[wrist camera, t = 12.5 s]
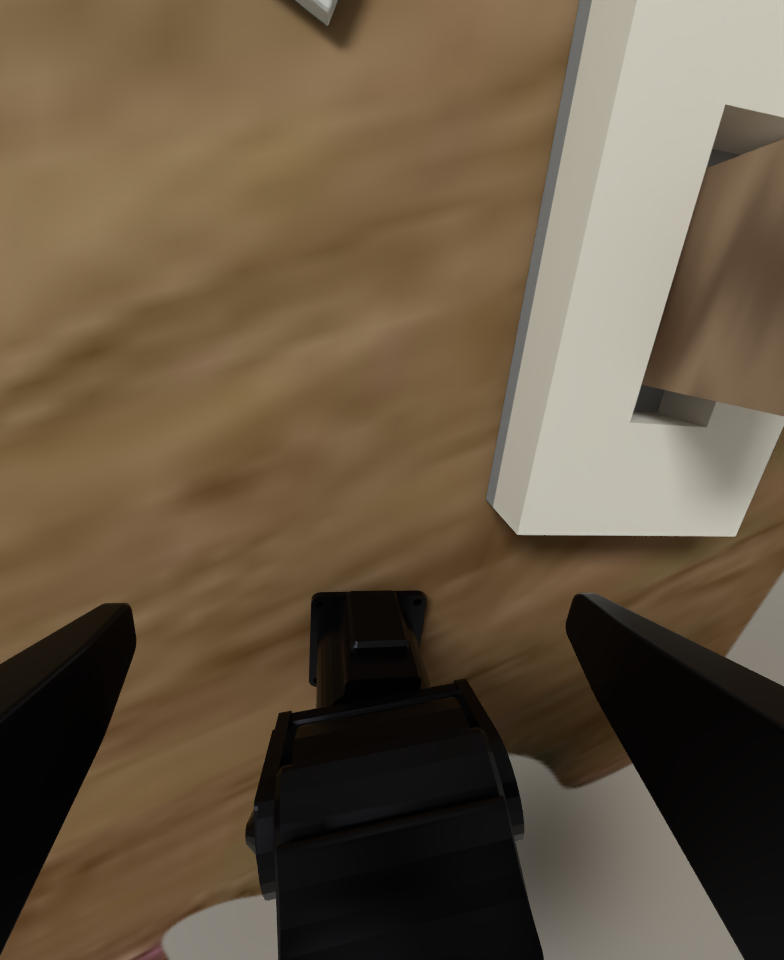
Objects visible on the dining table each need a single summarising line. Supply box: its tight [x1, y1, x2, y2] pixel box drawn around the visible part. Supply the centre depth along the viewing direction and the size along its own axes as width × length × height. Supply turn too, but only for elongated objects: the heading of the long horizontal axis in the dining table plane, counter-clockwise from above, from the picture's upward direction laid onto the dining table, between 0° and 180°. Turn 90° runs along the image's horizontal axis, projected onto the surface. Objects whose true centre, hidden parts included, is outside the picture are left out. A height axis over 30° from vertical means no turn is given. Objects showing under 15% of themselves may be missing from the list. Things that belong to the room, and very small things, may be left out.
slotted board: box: [486, 0, 784, 536], centre depth 18 cm, size 22×12×4 cm, turn 175°
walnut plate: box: [641, 139, 784, 416], centre depth 15 cm, size 8×2×9 cm, turn 174°
